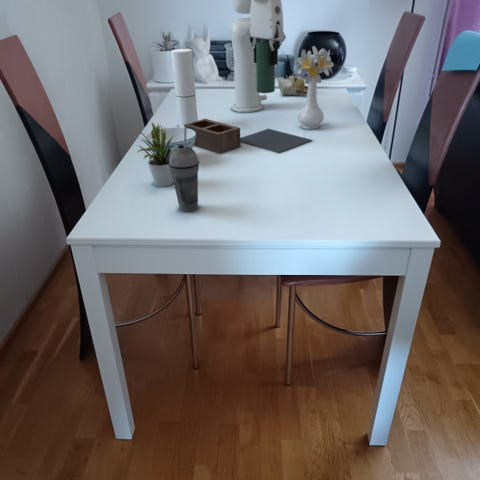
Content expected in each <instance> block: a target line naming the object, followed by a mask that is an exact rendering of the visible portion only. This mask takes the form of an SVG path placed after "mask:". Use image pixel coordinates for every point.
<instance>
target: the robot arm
mask: <svg viewBox="0 0 480 480" xmlns="http://www.w3.org/2000/svg"><path fill="white" fill-rule="evenodd" d="M232 4H233V10H234V11H235V12H236V13H237V14H241V15H246V14H249V17H243V18H238V19H236V20H233V21H232V23H231V24H230V28H229V29H230V39H231V45H232V52H233V67H234V94H235V95H234V96H235V103H234V104H232V105H231V110H232V111H234V112H238V113H254V112H259V111H261V110H263V109H264V105H263V103H262V101H266V100H268V96H267V95H266V94H263V95H261V94H260V93H259V92H257V76H256V43H257V42H260V39H268V40H269V44H270V48H271V50H270V51H269V65H275V66H276V65H278V64H279V50H280V48H281V46H282V44H283V43H284V41H285V40H287V36H286V34H285V32H284V13H283V4H282V0H232ZM273 42H274V43H273ZM252 49H253V50H252Z"/></svg>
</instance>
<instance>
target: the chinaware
mask: <svg viewBox="0 0 480 480" xmlns="http://www.w3.org/2000/svg"><path fill="white" fill-rule="evenodd" d="M165 130H166V139H165V147H166V144H167V142H168V141H169V140H170V138H171V137H172V136H174V135H175V136H174V137H173V138H172V140H171V142H170V144H169V146H168V148H169V147H170V146H171V145H172V144H173V143H176V144H174V145H173V146H172V147H170V149H171V150H172V151H173V150H174V149H175V148H176V147H178V146H182V145H184V128H180V127H165ZM163 132H164V128H163ZM173 134H174V135H173ZM176 134H177V135H176ZM145 136H146V137H147V139H148V140H149V141H150V142H151V144H153V142H152V141H153V139H152V135H151V131H150V132H149V133H147V134H146V135H145ZM195 137H196V133H195V131H193V130H191V129H187V128H186V146H188V147H190V148H192V149H193V148H194V143H195ZM147 139H146V140H147ZM148 140H147V141H148ZM147 141H146V142H147ZM149 141H148V142H149ZM148 142H147V143H148ZM179 143H180V144H179ZM148 144H149V143H148ZM160 145H161V128H160ZM149 146H150V147H151V148H153V147H152V146H151V145H150V144H149ZM149 146H148V147H149ZM168 148H167V150H168ZM164 150H165V149H164ZM172 151H171V152H170V154H171V153H172ZM166 152H167V151H166ZM154 153H155V154H156V152H155V151H154ZM154 153H153V154H154ZM170 154H169V155H170ZM165 155H166V153H165ZM169 155H168V156H169Z"/></svg>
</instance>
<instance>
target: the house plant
mask: <svg viewBox="0 0 480 480" xmlns="http://www.w3.org/2000/svg"><path fill="white" fill-rule="evenodd" d="M151 128H152V129H151V131H150V132H151V135H152V139H153V141H152V142H153V144H151V142H150V141H149V140H148V139H147V137H146V136H147V135H145V134H144V133H143V132H142V131H140V130H138V129H132V128H131V129H130V131H131V130H133V131H136V132H137V133H139V134H141V135H142V136H143V137H141V141H142V142H143V143H144V144H146V146H147V147H145V148H144V147H143V146H141V145H137V144H136V145H135V146H136V147H139V148H140V149H138V151H136V154H137V153H140V152H142V151H144V153H145V154H144V156H143V160H145V159H146V158H148V159H149V160H148V162H147V164H148V167H149V170H150V172H151V176H152V180H153V183H154V185H155V186H156V187H160V188H164V187H169V186H172V185H173V184H174V180H173V175H172V173H171V169H170V166H169V158H170V155H171V154H170V152H171V151H172V150H171V149H170V147H172V146H173V145H174V144H176V143H173V144H172V145H171V146H170V147H169V148H168V146H169V144H170V142H171V140H172V138H173V137H174V136H175V135H174V134H173V135H174V136H172V137H171V138H170V140H169V141H168V142H167V144H166V147H165V139H166V130H165V128H166V127H165V126H163V125H162V124H161V123H158V124H157V125H155V123H154V122H153V121H151ZM160 129H161V145H160ZM163 129H164V132H163ZM176 135H177V134H176ZM133 139H140V136H139V137H138V136H135V137H134V136H133ZM147 140H148V141H149V142H148V141H147ZM148 143H149V144H150V145H151V146H152V147H153V148H151V147H150V146H149V144H148ZM179 144H180V143H179ZM167 148H168V150H167ZM164 149H165V150H164ZM154 151H155V152H156V154H155V153H154ZM166 151H167V152H166ZM165 153H166V155H165ZM169 154H170V155H169ZM168 155H169V156H168Z"/></svg>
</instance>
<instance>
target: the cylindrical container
mask: <svg viewBox="0 0 480 480" xmlns="http://www.w3.org/2000/svg"><path fill="white" fill-rule="evenodd" d="M170 54H171V55H170V56H171V64H172V72H173V73H172V74H173V82H174V92H175V102H176V110H177V119H178V120H177V121H178V128H184V124H188V123H191V122H195V121H198V107H197V96H196V84H195V71H194V58H193V50H192V49H190V48H177V49H172V50H170Z"/></svg>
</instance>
